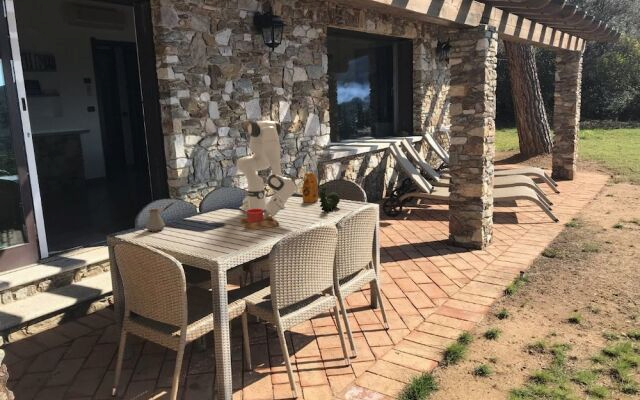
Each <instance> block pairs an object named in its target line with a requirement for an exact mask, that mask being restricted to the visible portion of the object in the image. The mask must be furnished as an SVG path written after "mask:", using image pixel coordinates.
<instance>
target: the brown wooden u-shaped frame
mask: <svg viewBox="0 0 640 400" xmlns="http://www.w3.org/2000/svg"><path fill="white" fill-rule="evenodd" d="M240 224H241V225H243V231H250V230H257V229H264V228H265V229H266V228H275V227H280V223H279V221H278V220H277V219H276V218H275V216H271V215H269V216H268V217H266V219H264V218H263V220H262V222H256V223H249V222H248V217H243V218H240ZM249 229H250V230H249Z"/></svg>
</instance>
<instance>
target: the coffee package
mask: <svg viewBox="0 0 640 400" xmlns="http://www.w3.org/2000/svg"><path fill="white" fill-rule="evenodd" d="M304 176H305V179H304V181H303V183H302V186H301V187H302V188H301V190H302V201H303V203H310V204H311V203H314V202H317V201H318V200H319V187H318V179H317V177H316V176H315V174H314V172H313V171H310V173H307V172H306V173H305V174H304Z"/></svg>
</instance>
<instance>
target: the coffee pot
mask: <svg viewBox="0 0 640 400" xmlns="http://www.w3.org/2000/svg"><path fill="white" fill-rule="evenodd" d="M172 205H174V202H171V203H169V204H168V205H167V206H166V207H164V208H162V210H161V211H160V209H158V208H155V209H150V210H148V213H149V217H148V219H147V223H146V225H145V228H146V230H147V231H149V232H150V231H157V232H159V231H158V230H161V231H163V230H164V228H165V226H166V224H165V222H164V220H163V219H162V217H161V214H162V213H163V212H164V211H166V210H167V209H168V208H170V207H171V206H172Z"/></svg>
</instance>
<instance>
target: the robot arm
mask: <svg viewBox="0 0 640 400" xmlns="http://www.w3.org/2000/svg"><path fill="white" fill-rule="evenodd" d="M247 131H248V135H249V136H250V138H249V146H248V149H249V151H250V152H251V153H253V155H247V156H243V157H242V156H241V157H240V158H238V159H237V161H236V168H237V170H238V171H239V172H241V173H242V174H243V175H244V176H245V178H246V182H247V183H246V184H247V189H248V190H247V191H246V196H245V197H244V199H243V200H242V206H240V207H239V209H240V210H242V211H244V212H246V211H247V210H250V209H263V211H265V212H263V218H264V219H266V217H268V216H270V215H271V216H272V217H275V216H276V215H277V214H278V213H279V212H280V211H281V209H283V208H285V204H286V203H287V201H288V200H289V198H291V197H292V196H293V194H294V193H296V191H297V188H298V187H297V184H296V182H295V181H294V180H293V178H290V177H284V176H283V173H282V165H281V144H280V138H279V136H280V135H281V132H282V126H281V124H280V122H278V121H276V120H274V121H272V120H254V121H250V123H249V124H248V127H247ZM270 167H271V173H272V174H271V175H269V176H268V178H267V186H268V187H269V188H270V190H272V192H273V193H274V194H273V195H272V196H271V198H270V200H269V201H268V200H267V197H266V196H265V195H266V193H265V192H266V190H265V188H264V187H265V186H264V179H263V178H262V177H261V176H260V175H257V173H256V172H258V171H264V170H268V169H270ZM267 201H268V202H267Z"/></svg>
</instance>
